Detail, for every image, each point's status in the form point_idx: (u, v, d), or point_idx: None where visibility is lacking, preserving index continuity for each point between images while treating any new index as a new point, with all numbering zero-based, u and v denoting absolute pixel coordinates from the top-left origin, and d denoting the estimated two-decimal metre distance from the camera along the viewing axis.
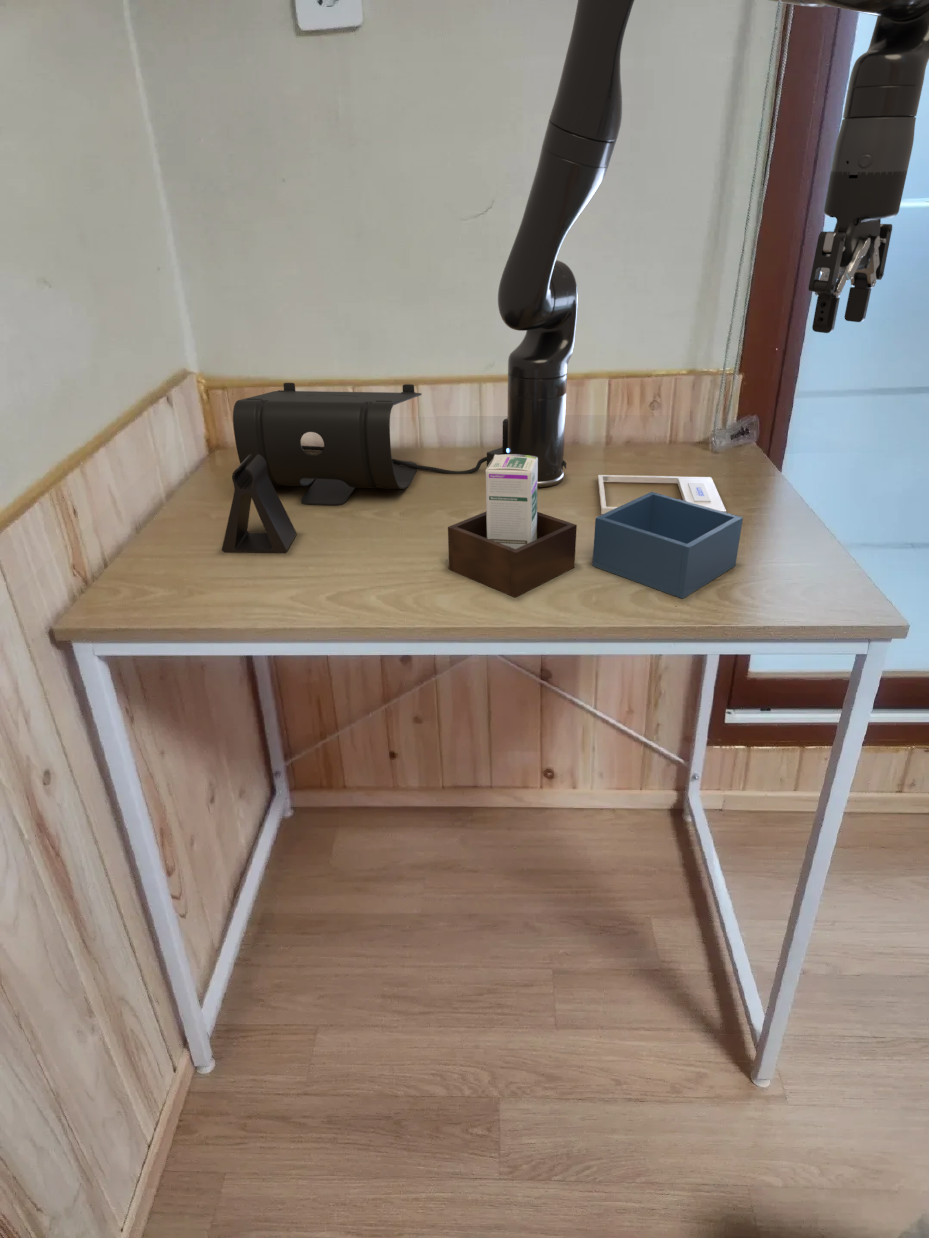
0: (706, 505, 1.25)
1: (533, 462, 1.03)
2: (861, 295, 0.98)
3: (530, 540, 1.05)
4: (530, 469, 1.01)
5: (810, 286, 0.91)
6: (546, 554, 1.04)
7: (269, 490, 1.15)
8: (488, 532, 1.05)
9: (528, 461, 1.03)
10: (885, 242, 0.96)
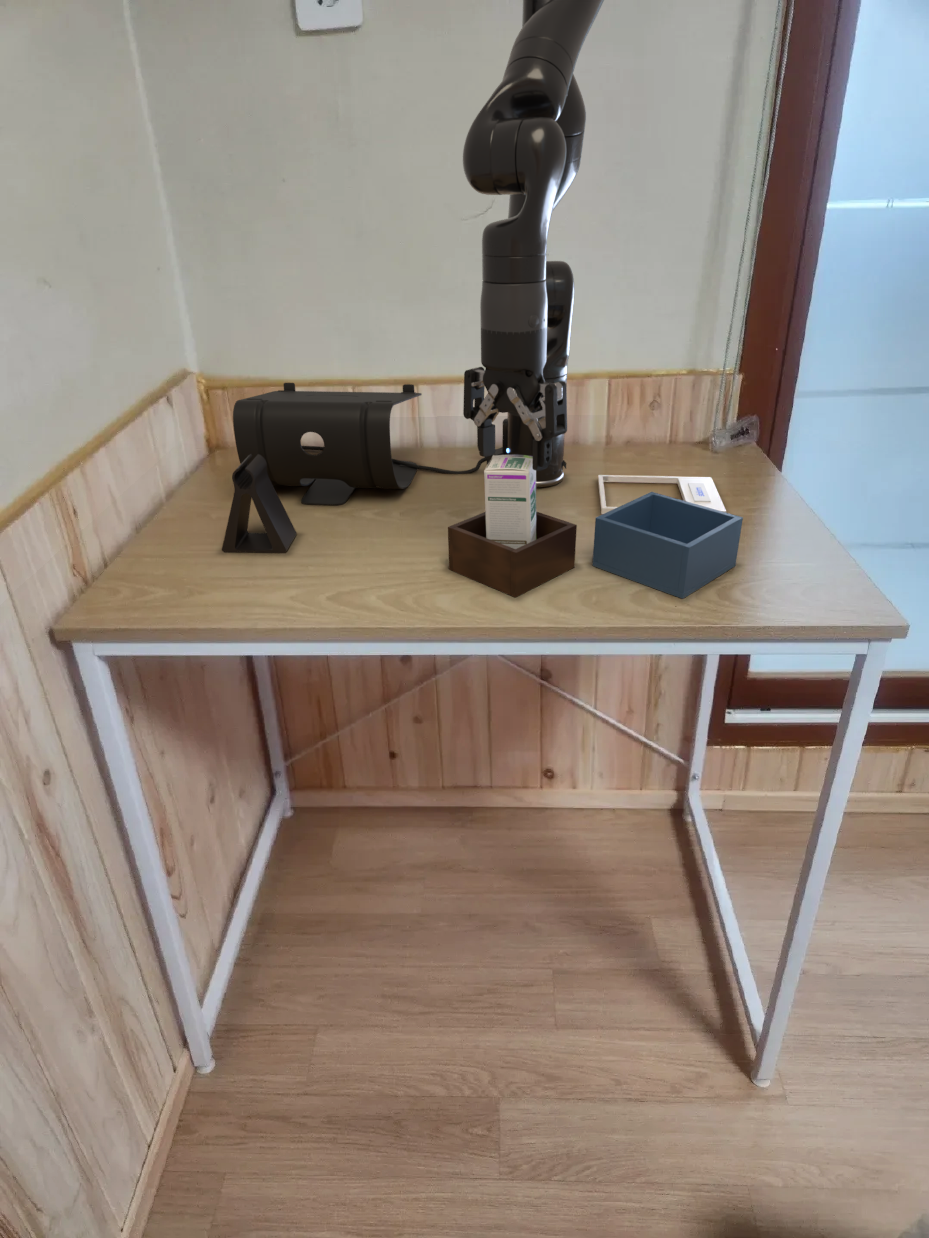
0: (706, 505, 1.25)
1: (531, 462, 1.03)
2: None
3: (529, 540, 1.05)
4: (528, 469, 1.01)
5: None
6: (546, 554, 1.04)
7: (269, 490, 1.15)
8: (487, 533, 1.05)
9: (526, 461, 1.03)
10: (545, 401, 0.94)
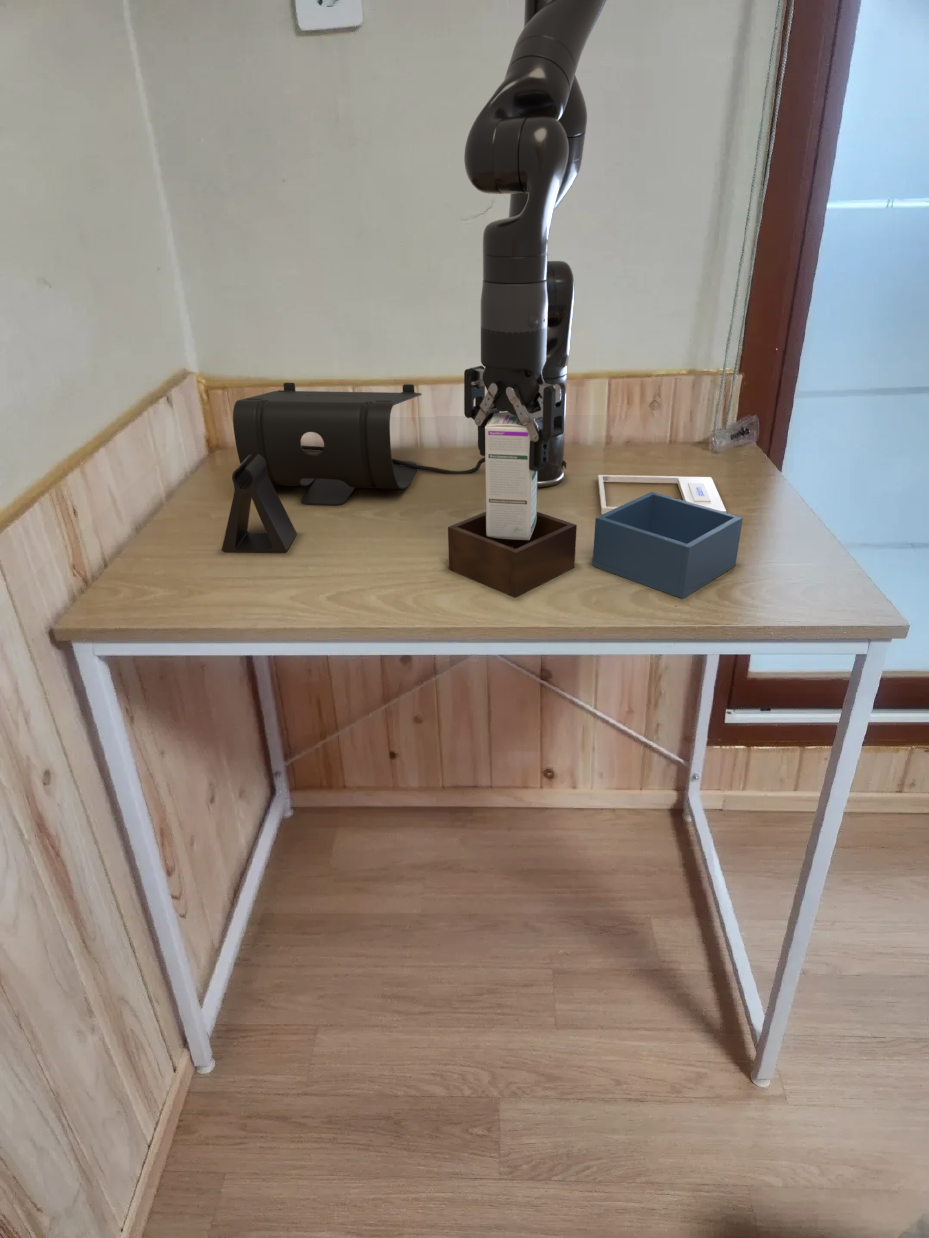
0: (706, 505, 1.25)
1: None
2: None
3: (530, 500, 1.02)
4: None
5: None
6: (546, 554, 1.04)
7: (269, 490, 1.15)
8: (487, 492, 1.03)
9: None
10: (543, 402, 0.95)
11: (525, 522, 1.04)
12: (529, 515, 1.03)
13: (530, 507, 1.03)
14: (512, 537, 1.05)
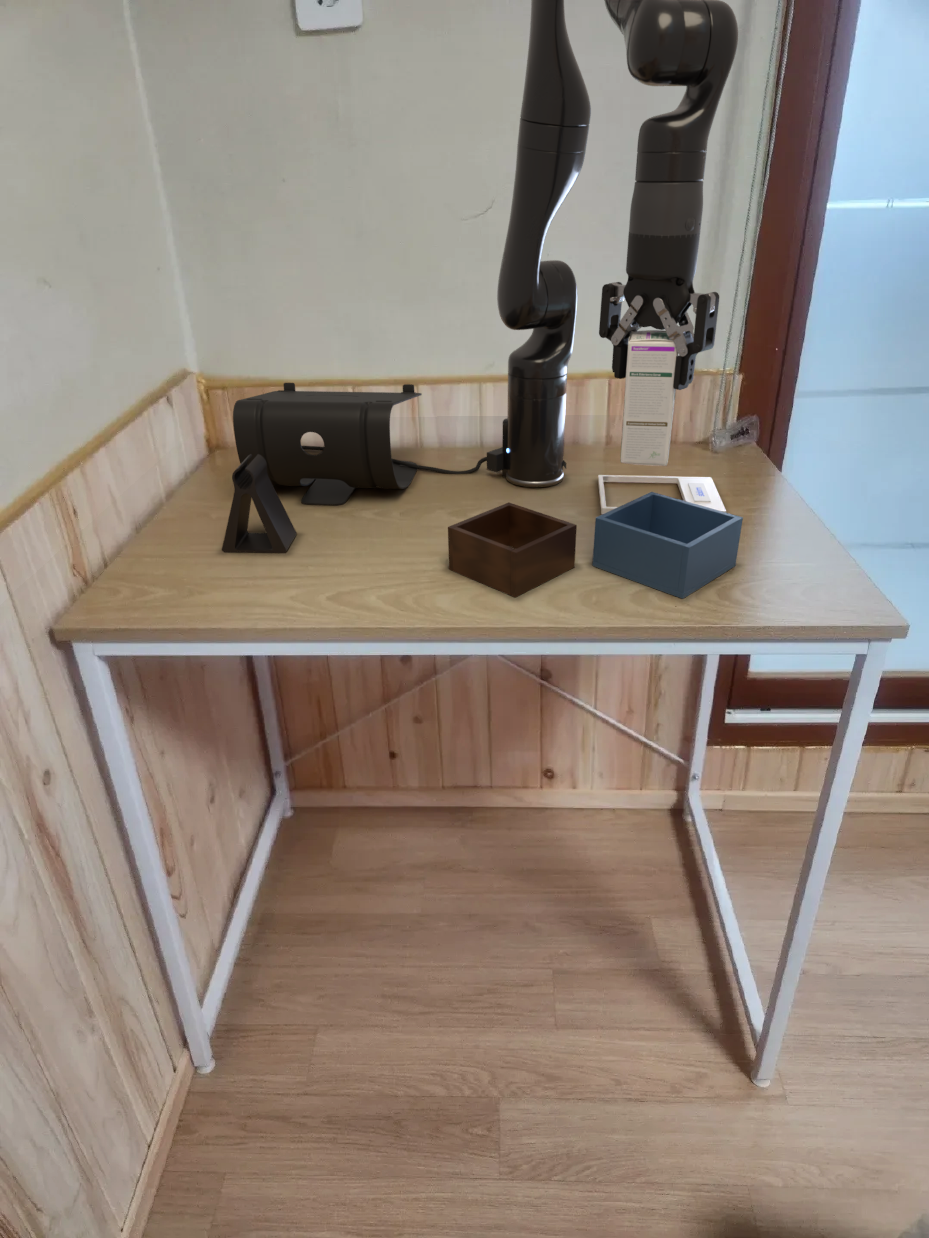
0: (706, 505, 1.25)
1: None
2: None
3: (671, 422, 0.97)
4: None
5: None
6: (546, 554, 1.04)
7: (269, 490, 1.15)
8: (625, 413, 0.98)
9: None
10: (696, 312, 0.90)
11: (664, 446, 0.99)
12: (668, 438, 0.98)
13: (670, 430, 0.98)
14: (648, 463, 1.00)
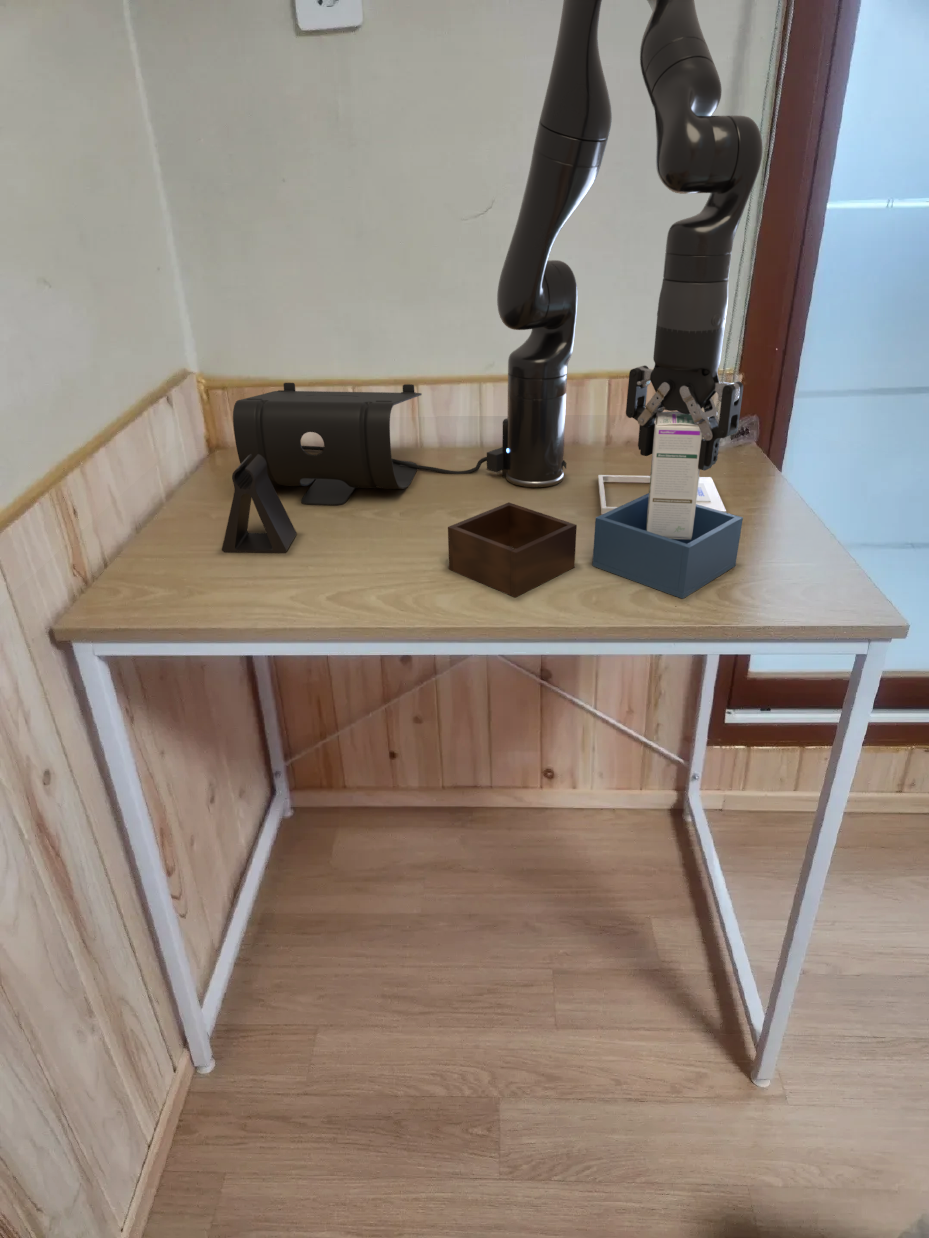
0: (706, 505, 1.25)
1: None
2: None
3: (695, 499, 1.02)
4: None
5: None
6: (546, 554, 1.04)
7: (269, 490, 1.15)
8: (652, 491, 1.03)
9: None
10: (722, 401, 0.95)
11: (689, 522, 1.04)
12: (693, 514, 1.03)
13: (695, 506, 1.03)
14: (673, 536, 1.05)
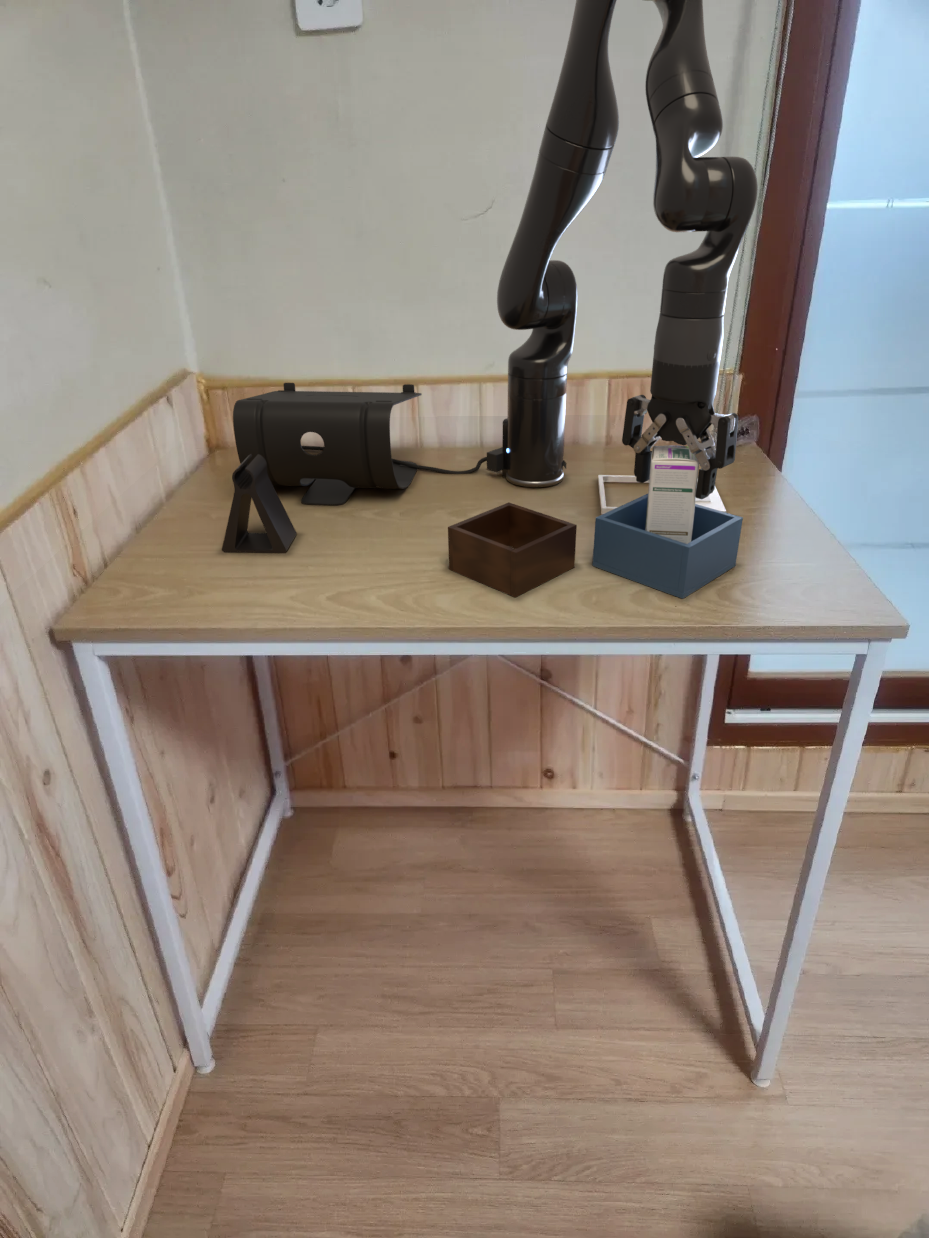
0: (706, 505, 1.25)
1: None
2: None
3: (691, 531, 1.04)
4: (697, 460, 1.00)
5: None
6: (546, 554, 1.04)
7: (269, 490, 1.15)
8: (648, 523, 1.05)
9: None
10: (717, 432, 0.96)
11: None
12: None
13: (690, 538, 1.05)
14: None
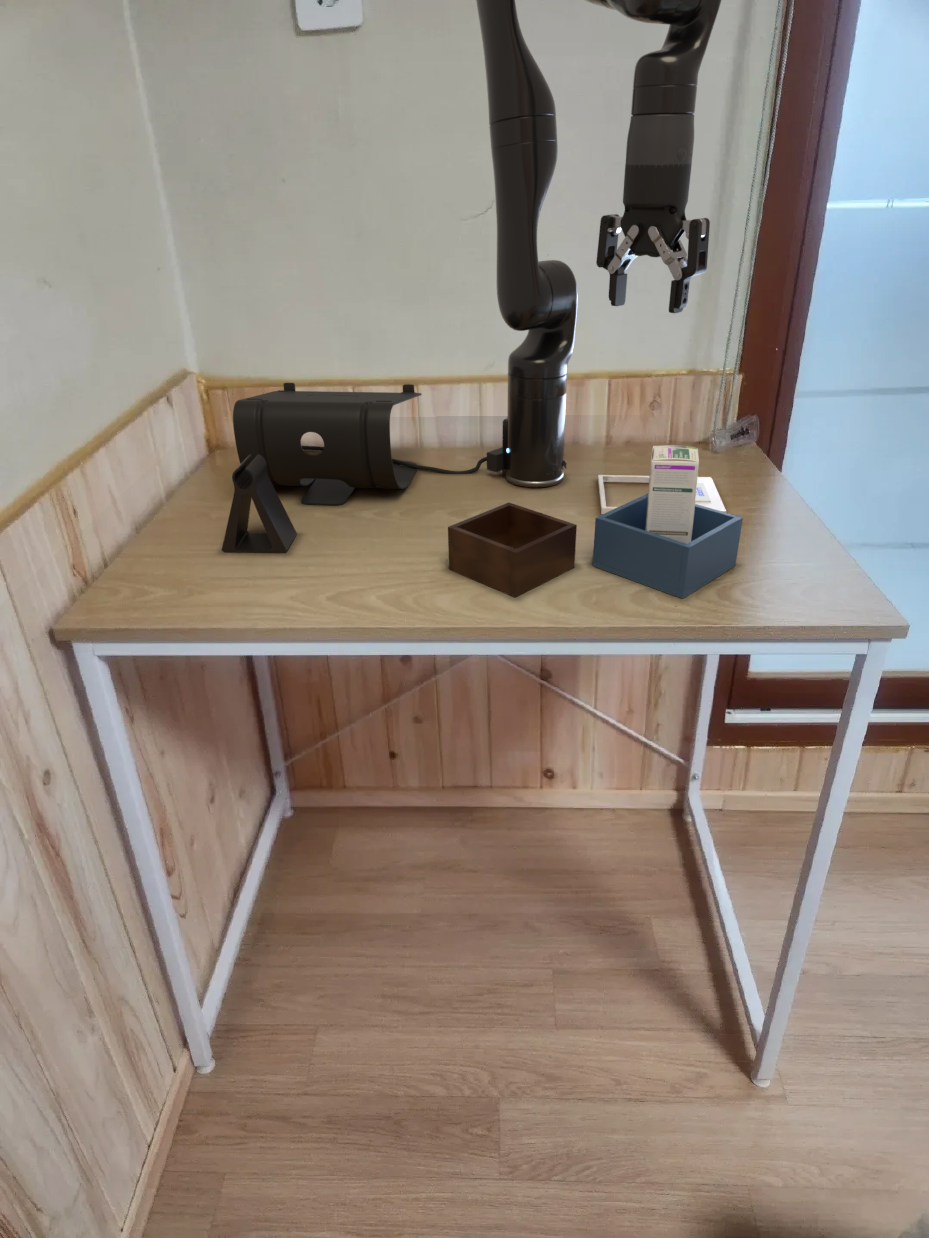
0: (706, 505, 1.25)
1: (696, 453, 1.02)
2: None
3: (691, 531, 1.04)
4: (697, 460, 1.00)
5: None
6: (546, 554, 1.04)
7: (269, 490, 1.15)
8: (648, 523, 1.05)
9: (691, 452, 1.03)
10: (689, 237, 0.97)
11: None
12: None
13: (690, 538, 1.05)
14: None
